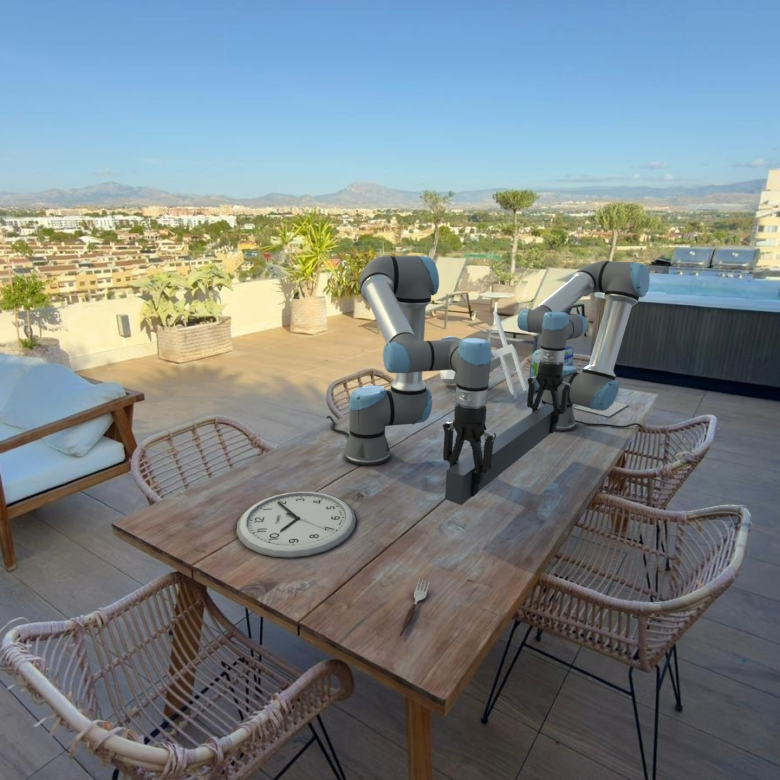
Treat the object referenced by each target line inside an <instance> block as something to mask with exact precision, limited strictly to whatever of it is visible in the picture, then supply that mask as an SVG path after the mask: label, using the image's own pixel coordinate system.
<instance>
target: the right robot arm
mask: <svg viewBox="0 0 780 780" xmlns="http://www.w3.org/2000/svg"><path fill="white" fill-rule="evenodd" d="M650 281H651V280H650V272H649V268H648V266H647V265H646V264H645V263H641V262H634V261H616V260H615V261H614V260H613V261H612V260H600V261H596V262H592V263H590V264H588V265H586V266H584V267H582V268H580V269H578V270H577V271H576V272H574V273H573V274H572V275H571V276H570V278H569V280H568V282H566V283H564V285H562V286H561V287H560V288H559V289H557V290H555V292H553V293H552V294H551V295H549V296H548V297H547V298H546V299H545V300H543V301H542V302H541V303H540V304H538V305H537V306H535V307H534V308H533V309H531V308H524V309H522V310H520V311H519V313H518V314H517V320H516V323H517V328H518V329H519V330H520V331H523V332H527V333H533V334H538V335H541V336H540V337H541V338H540V347H539V349H540V356H539V359H540V360H541V361H540V362H539V365H538V374H537V376H536V377H530V376H529V377H528V378H527V383H528V384H527V385H528V396H527V400H526V407H527V408H530V409H531V413H533V412H534V411H536V410H537V409H539V408H540V407H542V406H543V405H545V404H551V405H553V408H554V413H553V414H552V416H551V425H550V433H551V434H554V432H555V431H556V432H567V431H572V430H574V429H575V428H576V423H577V424H582V425H585V426H600V427H601V426H604V427H611V428H619V429H620V428H622V429H625V428H628V427H629V428H630V427H632V426H638V427H639V428H643V426H642V425H641V424H640V423H637V422H634V423H630V424H626V425H618V424H617V425H616V424H610V423H609V424H608V423H591V422H584V421H580V420H577V419H576V418H575V417H576V416H575V413H574V407H573V405H575V406H578V405H580V406H584V407H588V408H590V409H596V410H601V411H603V410H606V409H608V408H609V407H610V406H611V405H612V404H613V403H614V402H616V399H617V398H618V394H619V390H620V384H619V382H618V381H617V380H616V378H617V375H616V374H615V371H614V369H615V366H616V363H617V359H618V355H619V352H620V348H621V345H622V342H623V338H624V334H625V331H626V327H627V324H628V321H629V317H630V314H631V311H632V307H633V306H635V305H637V304H638V302H639V300H640V298H644V297H646V295H647V294H648V292H649V288H650ZM593 293H602V294H604V295H603V298H604V299H605V301H606V304H605V307H604V310H603V314H602V317H601V321H600V324H599V327H598V331H597V334H596V338H595V342H594V345H593V349H592V351H591V356H590V359H589V362H588V364H587V366H584V367H583V368H582V370H581V372H578V368H577V367H575V366H573V365H572V366H563V365H564V364H563V363H562V362H564V356H565V346H567V341H569V340H573V339H578V338H580V337H582V336H583V335H585V334H586V332H587V331H588V327H589V323H588V320H587V318H586V317H585V316H584V315H582V314H579V313H572V314H569V313H567V311H568V310H569V309H570V308H571V307H573V305H575V304H576V303H577V302H578V301H580V300H581V299H582V298H583V297H588V296H590V295H591V294H593ZM536 380H537V382H538V384H539V385H540V387H539V389H538V391H537V393H536V396H535V383H536ZM534 398H535V399H534ZM557 423H558V424H557ZM555 424H557V429H556V430H555ZM551 434H550V435H551Z"/></svg>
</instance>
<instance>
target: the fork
mask: <svg viewBox="0 0 780 780" xmlns="http://www.w3.org/2000/svg"><path fill="white" fill-rule="evenodd" d="M420 580H421V577H419V578H418V581H417V585H416V587H415V590H414V592H413V598H414V600H415V601H414V603H413V604H412V606H411V607H410V609H409V611H408V612H407V613H406V616H405V619H404V622H403V624H402V625H403V626H402V628H401V631H400V634H399V636H400V637H402V635H403V634H404V632H405V631H406V629H407V627H408V626H409V624H410V622H411V621H412V619H413V617H414V614H415V610H416V607H417V604H418V602H420V601H423V600H425V599H426V598H427V596H428V591H429V586H430V582H431V581H430V580H431V579H428V583H427V578H426V579H425V580H424V578H422V580H421V583H420ZM423 582H424V584H423ZM426 583H427V586H426ZM419 584H420V585H419ZM422 587H423V588H422Z"/></svg>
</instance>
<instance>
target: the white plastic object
mask: <svg viewBox="0 0 780 780" xmlns="http://www.w3.org/2000/svg"><path fill="white" fill-rule="evenodd" d="M492 315H493V319H494V321H495V324H496V325H495V326H496V328H497V332H498V335H499V338H500V342H501V345H502V347H500V348H498V349H496V350H495V349H493V348H492V347H491V364H490V373H492V372H494V371H495V370H496V369H497V368H499V367H500V366H502V370H503V373H504V376H505V380H506V383H507V386H508V390H509V393H510V394H511V395H512V397H513V398H514V399H515V400H517V392H516V391H517V390H516V388H515V385H514V381H513V378H512V375H511V371H510V369H509V365H508V361H510V360H513V363H514V366H515V369H516V372H517V376H518V380H519V382H520V385H521V389H522V391H523V393H524V395H525V396H526V397H528V389H529V386H528V384H527V381H526V378H525V375H524V371H523V369H522V368H523V367H522V366H521V362H520V359H519V355H518V352H517V349H516V347H515V346H514V345H513V343H511V344H508V341H507V337H506V334H505V331H504V328H503V325H502V321H501V318H500V315H499V314H498V312H497V311H496V310H495V311H492ZM460 339H461V340H463V339H464V338H460ZM438 372H439V376H440V381H442V383H443V384H444V385H445V386H449V385H456V383H457V373H456V372H455V371H453V370H441V371H438Z"/></svg>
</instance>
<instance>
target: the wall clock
mask: <svg viewBox="0 0 780 780" xmlns="http://www.w3.org/2000/svg"><path fill="white" fill-rule="evenodd" d="M356 522H357V518H356V515H355V512H354V510H353V509H352V508H351V507H350V505H349V504H348V503H346V502H345V501H343V500H341V499H339V497H335V496H332V495H329V494H327V493H321V492H315V491H293V492H285V493H280V494H275V495H273V496H270V497H268V498H264V499H262V500H260V501H259V502H257V503H255V504H253V505H251V506H250V507H249V508H247V510H246V511H245V512H244V513H242V514H241V516H240V518H239V519H238V521H237V523H236V535H237V537H238V540H239V541H240V542H241V544H242V545H244V546H245V547H246V548H248V549H249V550H251V551H253V552H255V553H257V554H261V555H265V556H269V557H273V558H300V557H309V556H312V555H316V554H320V553H323V552H327V551H328V550H331V549H333V548H335V547H337V546H339V545H340V544H342V543H343V542H344V541H345V540H347V539H348V538H349V537H350V536H351V534H352V533H353V531H354V530H355V526H356Z"/></svg>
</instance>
